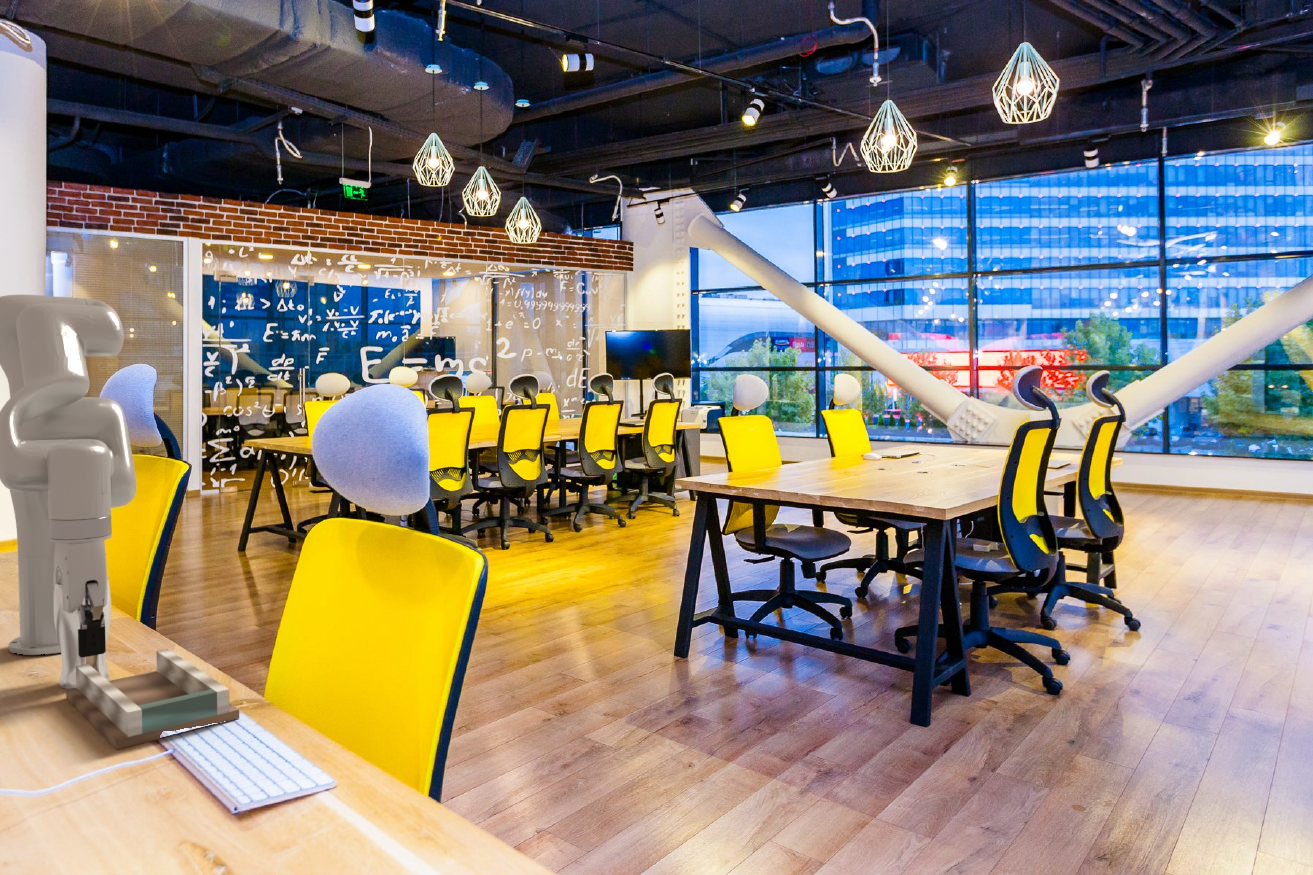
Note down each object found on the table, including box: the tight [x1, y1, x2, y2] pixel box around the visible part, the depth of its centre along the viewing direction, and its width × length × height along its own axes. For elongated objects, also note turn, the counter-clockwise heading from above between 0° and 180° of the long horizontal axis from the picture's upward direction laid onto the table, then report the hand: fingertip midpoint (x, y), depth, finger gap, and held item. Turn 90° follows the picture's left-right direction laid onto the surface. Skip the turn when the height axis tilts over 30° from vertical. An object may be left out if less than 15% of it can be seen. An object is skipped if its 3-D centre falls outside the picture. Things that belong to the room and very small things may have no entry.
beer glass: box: [54, 576, 112, 690], centre depth 126 cm, size 7×7×15 cm
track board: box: [65, 648, 240, 751], centre depth 116 cm, size 24×14×4 cm, turn 46°
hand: (83, 647), depth 126 cm, fingers open, 8 cm apart
